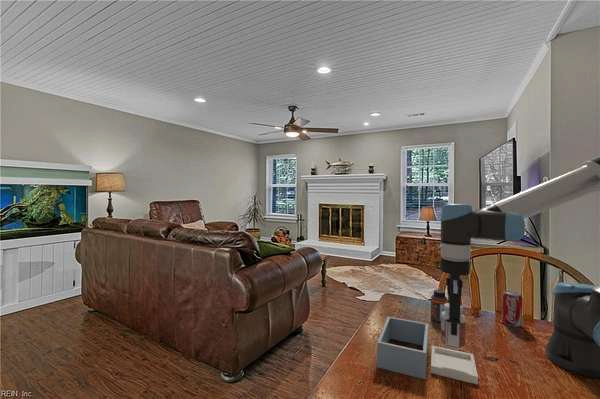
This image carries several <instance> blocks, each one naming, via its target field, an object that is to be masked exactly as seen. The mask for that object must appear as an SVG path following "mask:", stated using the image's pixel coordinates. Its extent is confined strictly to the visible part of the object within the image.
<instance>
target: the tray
mask: <svg viewBox="0 0 600 399" xmlns="http://www.w3.org/2000/svg"><path fill="white" fill-rule="evenodd" d="M430 357H431V359H430V360H431V361H430V373H431V374H434V375H437V376H442V377H447V378H449V379H453V380H458V381H461V382H462V381H463V382H466V383H470V384H474V385H479V375H478V371H477V366H476V362H475V357H474V354H473V353H470V352H469V353H468V352H464V351H460V350H456V349H451V348H447V347H441V346H435V345H431V356H430Z"/></svg>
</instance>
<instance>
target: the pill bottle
mask: <svg viewBox="0 0 600 399" xmlns="http://www.w3.org/2000/svg"><path fill="white" fill-rule="evenodd" d="M444 310H445V311H443V312H442V314H441V322H440V343H441V345H443V346H444V347H445V348H447V349H451V350H456V351H460V350H463V349H465V347H466V317H465V315H464V314H463V312H464V307H463V306H462V305H460V321H461V322H460V328H459V347H455V346H450V345H448V322H446V319H449V303H446V304H444Z"/></svg>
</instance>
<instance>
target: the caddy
mask: <svg viewBox="0 0 600 399" xmlns="http://www.w3.org/2000/svg"><path fill="white" fill-rule="evenodd" d="M390 340H396V341H399V342H405V343H409V344H415V345H418V346H422V348H423V349H422V350H420V349H416V348H411V347H406V346H403V345H402V346H401V345H397V344H393V343H389V342H390ZM376 343H377V344H376V368H379V369H383V370H387V371H391V372H395V373H398V374H403V375H406V376H409V377H414V378H418V379H422V380H424V381H425V380H426V377H427V366H428V365H427V364H428V350H429V323H424V322H421V321H413V320H409V319H403V318H398V317H394V316H393V317H392V316H387V318H386V320H385V323H384V325H383V328H382V330H381V332H380V335H379V337H378V339H377V342H376Z"/></svg>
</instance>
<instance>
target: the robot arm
mask: <svg viewBox="0 0 600 399" xmlns="http://www.w3.org/2000/svg"><path fill="white" fill-rule="evenodd" d="M597 191H600V155H597V156H595V157H592V158H591V159H588V160H586V161H583V162H582V163H581V166H580V167H578V168H577V169H573V170H572V171H569V172H567V173H564V174H562V175H560V176H559V175H558V177H555V178H552V179H550V180H548V181H545V182H541V183H540V184H538V185H536V186H535V185H534V186H533V187H530V188H528V189H526V190H524V191H520V192H518V193H516V194H514V195H512V196H509V197H507V198H504V199H501V200H500V201H497V202H494V203H493V204H490V205H487V206H485V207H483V208H475V209H473V208H472V207H473V206H472V205H471V204H470V203H469V204H467V203H444V204H443V205H442V207H441V215H440V216H441V218H440V245H439V244H438V246H437V249H438V250H440V256H441V258H440V259H439V270H440V272H442V273H444V274H448V275H447V276H446V277H445V278H446V279H445V280H446V281H445V284H446V291H447V293H446V294H447V299H448V303H449V319H446V322H448V345H450V346H455V347H459V328H460V322H461V321H460V306H461V298H462V292H463V291H462V289H463V287H464V285H463V283H464V282H463V278H460V277H461V276H468V275H470V272H471V261H470V259H472V257H471V256H472V255H471V254H472V239H476V240H477V239H481V240H497V241H505V242H508V241H520V240H521V239H523V237H524V236H525V232H526V222H525V219H527V218H530V217H533V216H535V215H538V214H540V213H543V212H546V211H549V210H551V209H553V208H555V207H559V206H561V205H564V204H566V203H569V202H571V201H575V200H578V199H579V198H581V197H583V196H586V195H590V194H591V193H594V192H597ZM553 295H554V297H553V298H554V299H553V302H554V305H553V330H552V333H551V335H550V336H549V337H550V338H549V340H548V341H547V343H546V345H545V356H546V358H547V359H548V360H550V361H551V362H552V363H553V364H556V365H557V366H559V367H561V368H563V369H565V370H568V371H570V372H571V373H572V372H573V373H575V374H579V375H582V376H586V377H590V378H594V379H600V285H592V284H588V283H586V284H585V283H578V282H577V283H576V282H558V283H556V284H555V286H554V293H553Z"/></svg>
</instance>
